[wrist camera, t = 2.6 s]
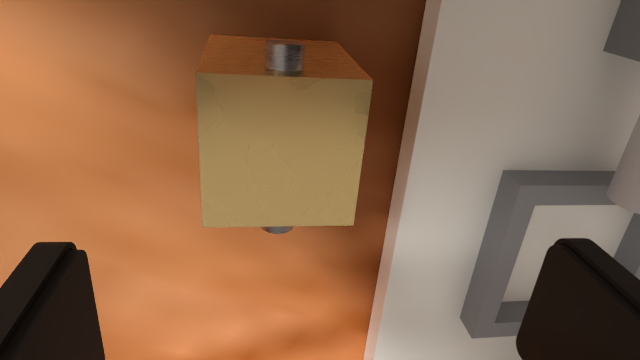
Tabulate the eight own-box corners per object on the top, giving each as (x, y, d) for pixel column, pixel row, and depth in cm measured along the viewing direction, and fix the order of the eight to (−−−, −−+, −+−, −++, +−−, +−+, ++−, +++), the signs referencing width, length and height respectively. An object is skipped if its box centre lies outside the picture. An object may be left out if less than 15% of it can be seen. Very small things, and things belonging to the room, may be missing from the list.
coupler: (209, 15, 17) (194, 46, 12) (337, 23, 18) (376, 56, 13) (214, 166, 20) (203, 245, 15) (324, 167, 21) (351, 242, 16)
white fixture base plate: (442, -93, 17) (528, -109, 12) (829, -49, 20) (1029, -46, 15) (353, 412, 29) (376, 508, 24) (595, 391, 32) (659, 472, 27)
